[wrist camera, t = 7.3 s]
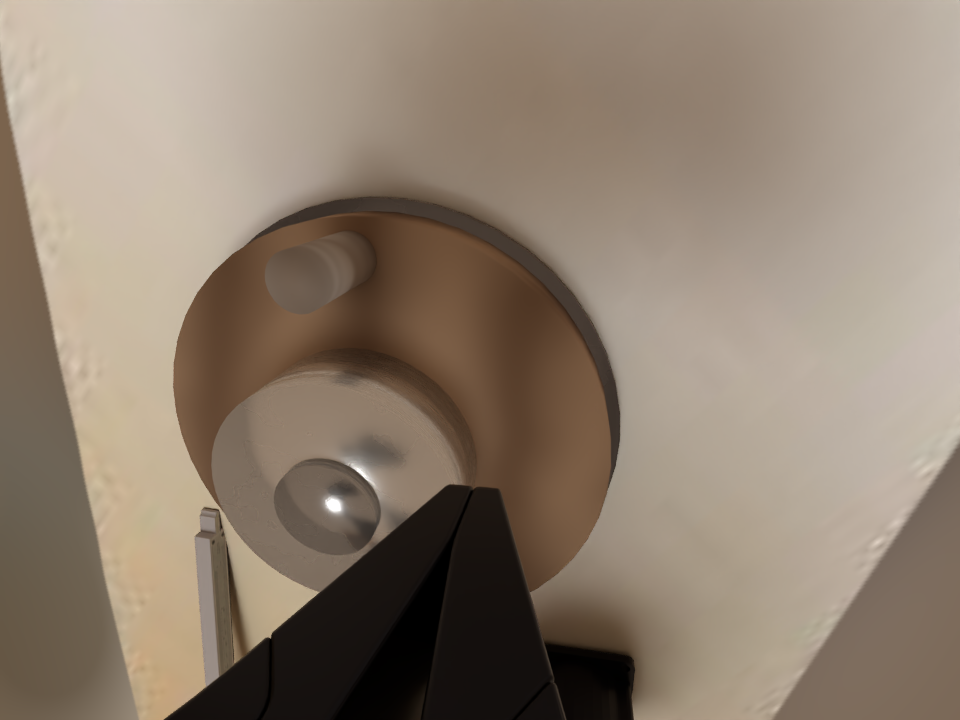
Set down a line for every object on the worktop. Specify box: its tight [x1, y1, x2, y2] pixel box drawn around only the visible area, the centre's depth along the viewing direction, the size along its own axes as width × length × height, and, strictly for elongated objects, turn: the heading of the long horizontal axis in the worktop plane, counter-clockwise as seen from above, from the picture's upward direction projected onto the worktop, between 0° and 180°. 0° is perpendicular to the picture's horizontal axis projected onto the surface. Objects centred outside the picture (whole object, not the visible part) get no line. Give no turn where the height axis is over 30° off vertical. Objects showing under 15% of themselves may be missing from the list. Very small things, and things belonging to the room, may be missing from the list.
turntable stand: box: [245, 197, 620, 490], centre depth 20 cm, size 21×24×9 cm
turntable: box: [173, 211, 611, 592], centre depth 21 cm, size 20×20×6 cm
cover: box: [211, 348, 477, 592], centre depth 20 cm, size 10×10×4 cm
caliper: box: [195, 508, 234, 687], centre depth 30 cm, size 20×1×6 cm, turn 178°
